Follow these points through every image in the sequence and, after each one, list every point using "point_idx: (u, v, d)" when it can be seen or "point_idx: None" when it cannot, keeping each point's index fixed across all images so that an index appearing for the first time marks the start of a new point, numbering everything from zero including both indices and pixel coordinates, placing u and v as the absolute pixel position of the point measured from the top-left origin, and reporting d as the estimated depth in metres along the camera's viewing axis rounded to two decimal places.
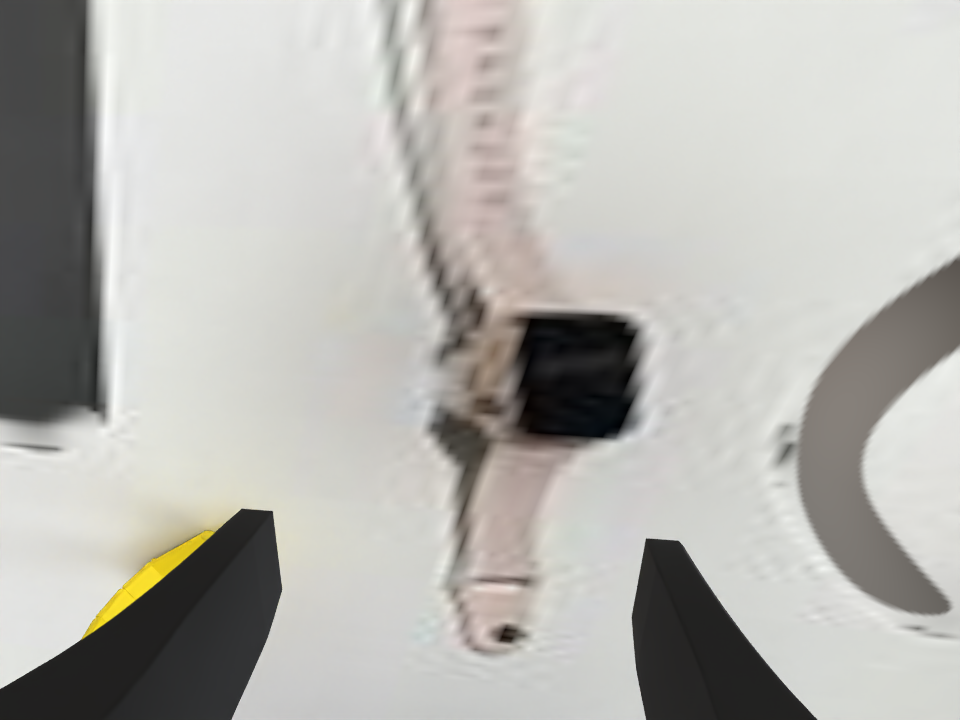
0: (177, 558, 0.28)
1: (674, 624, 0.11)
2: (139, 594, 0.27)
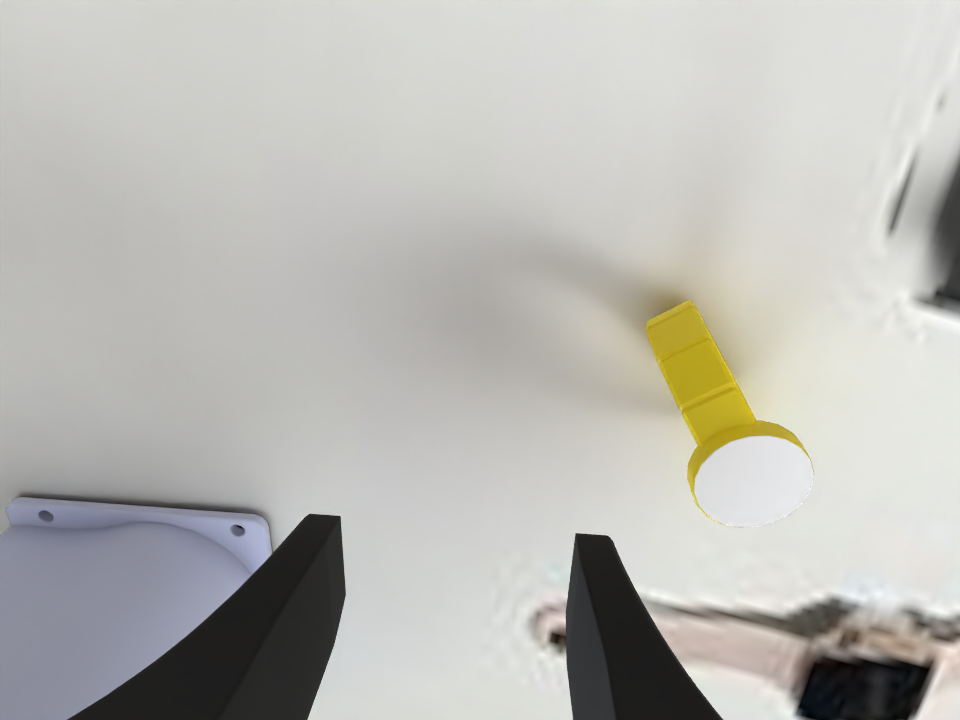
0: None
1: (591, 617, 0.11)
2: None
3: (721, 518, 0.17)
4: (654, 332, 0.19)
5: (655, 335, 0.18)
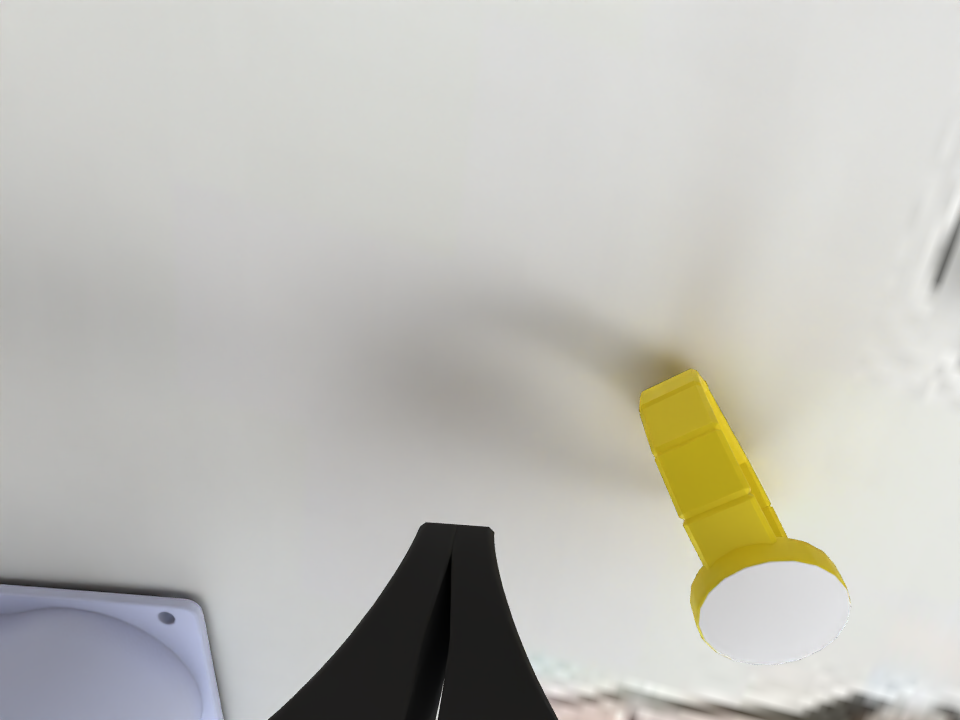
0: None
1: None
2: None
3: (732, 654, 0.14)
4: (649, 413, 0.15)
5: (650, 418, 0.15)
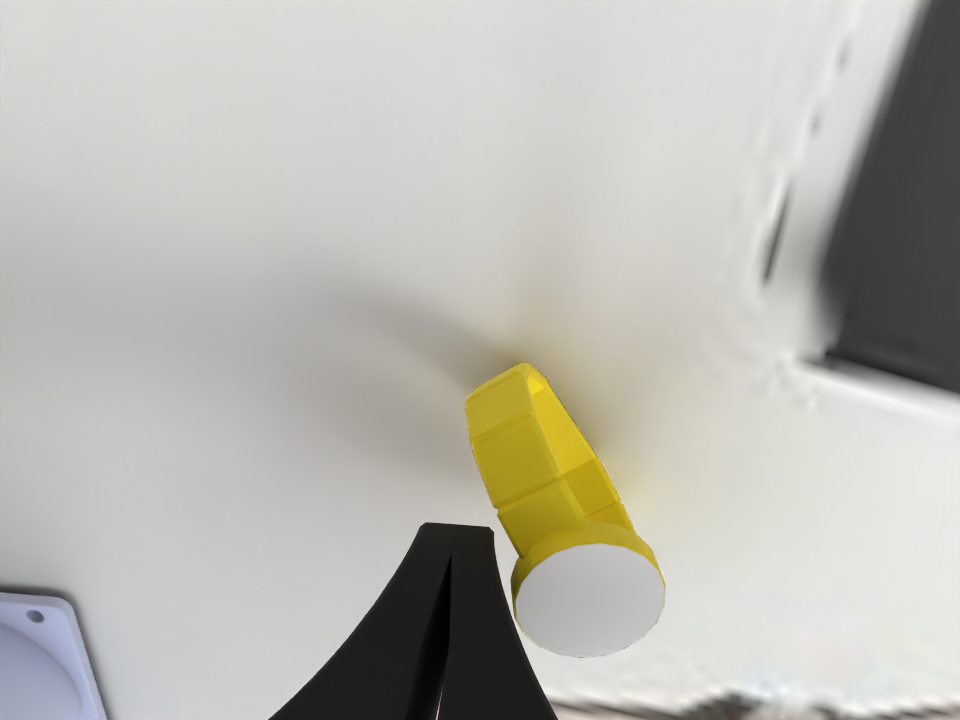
0: (557, 424, 0.18)
1: (450, 606, 0.11)
2: None
3: (555, 647, 0.13)
4: (472, 406, 0.15)
5: (473, 410, 0.15)
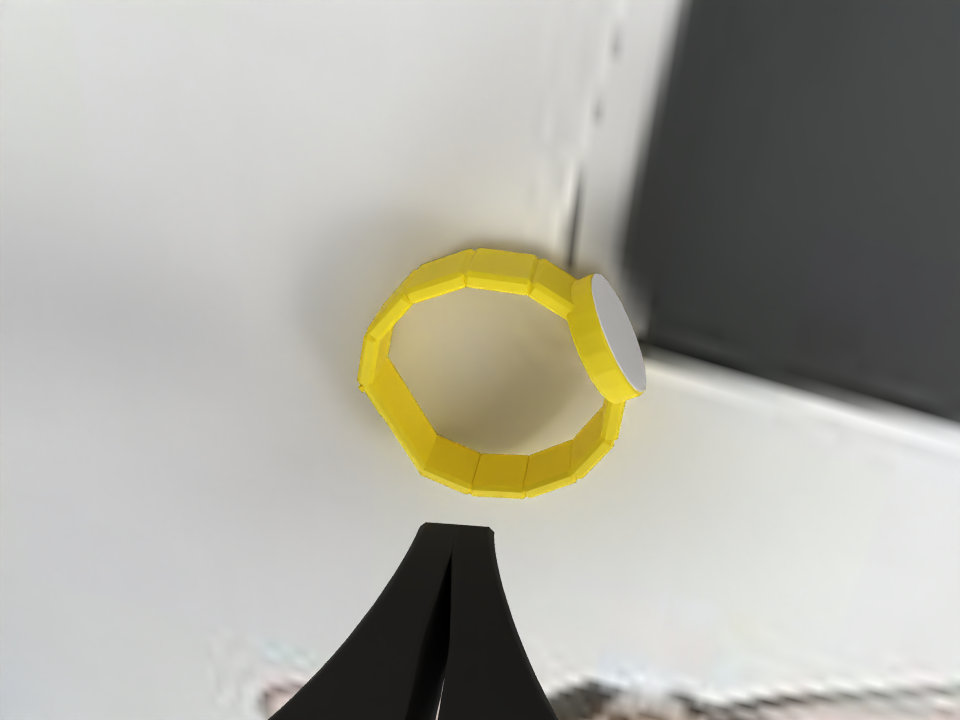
0: (407, 397, 0.18)
1: None
2: (387, 333, 0.16)
3: (632, 380, 0.15)
4: (416, 284, 0.15)
5: (422, 281, 0.15)
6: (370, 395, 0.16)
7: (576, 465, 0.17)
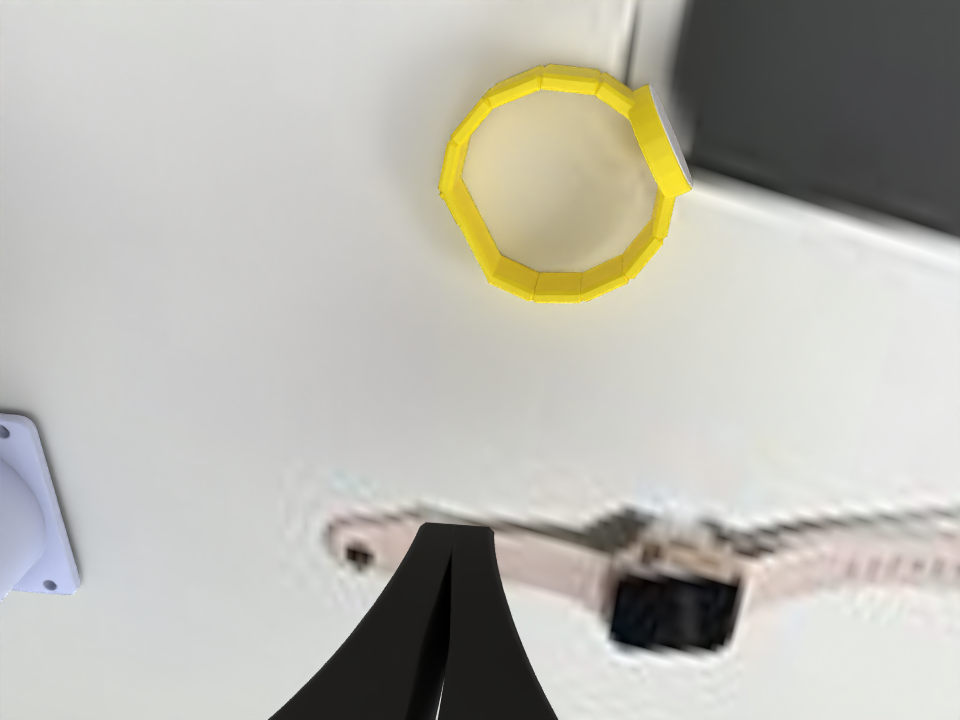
0: (477, 215, 0.20)
1: None
2: (464, 147, 0.19)
3: (683, 169, 0.17)
4: (496, 90, 0.17)
5: (502, 87, 0.17)
6: (449, 202, 0.19)
7: (629, 265, 0.19)
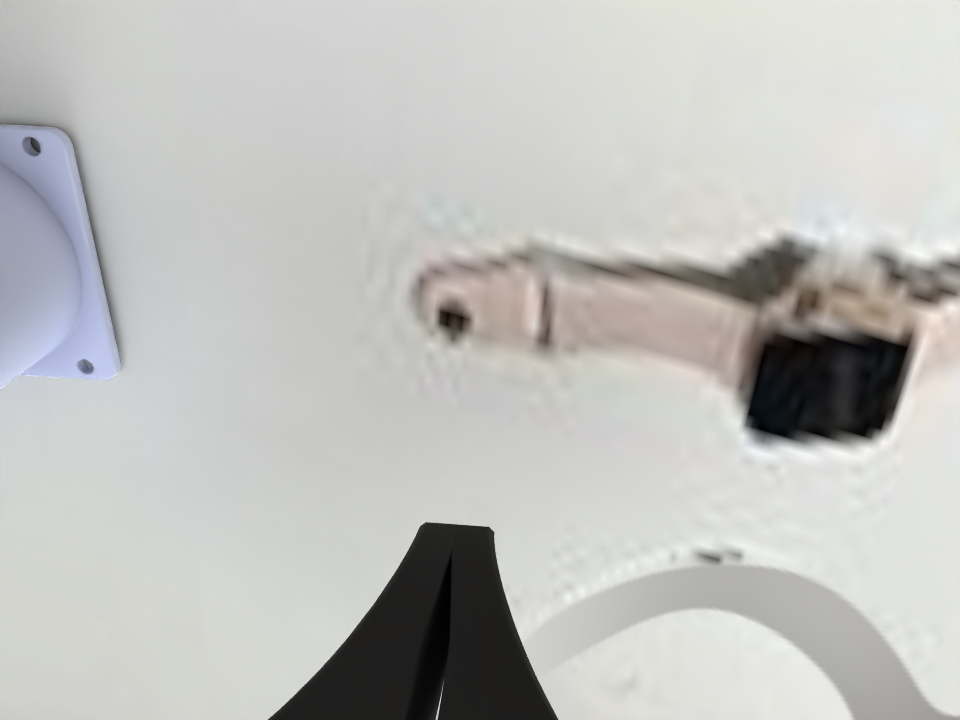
0: None
1: None
2: None
3: None
4: None
5: None
6: None
7: None
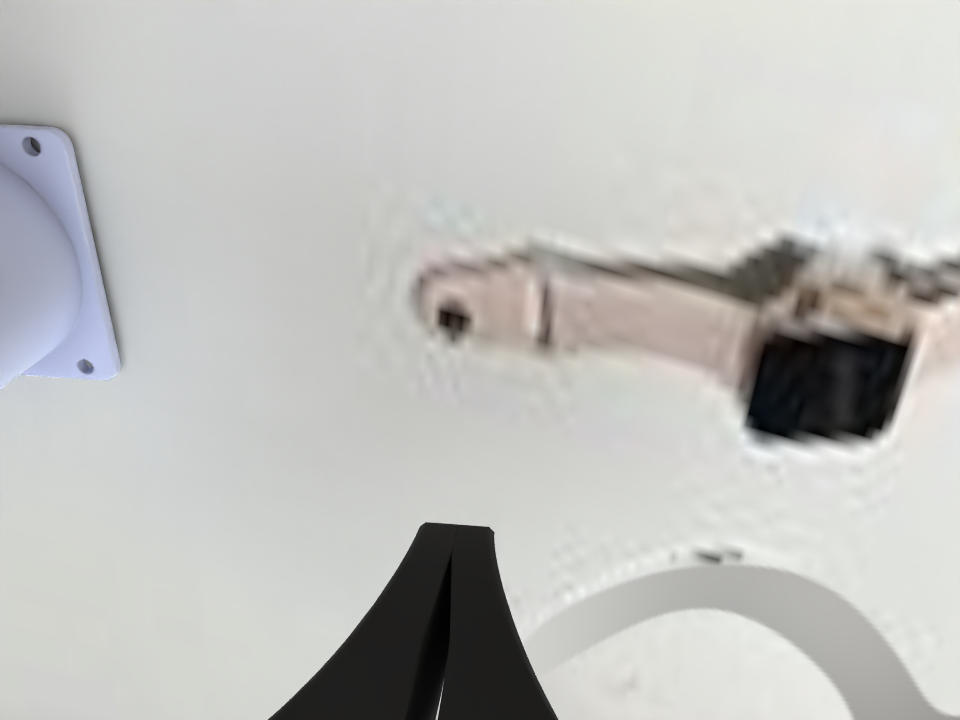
0: None
1: None
2: None
3: None
4: None
5: None
6: None
7: None
